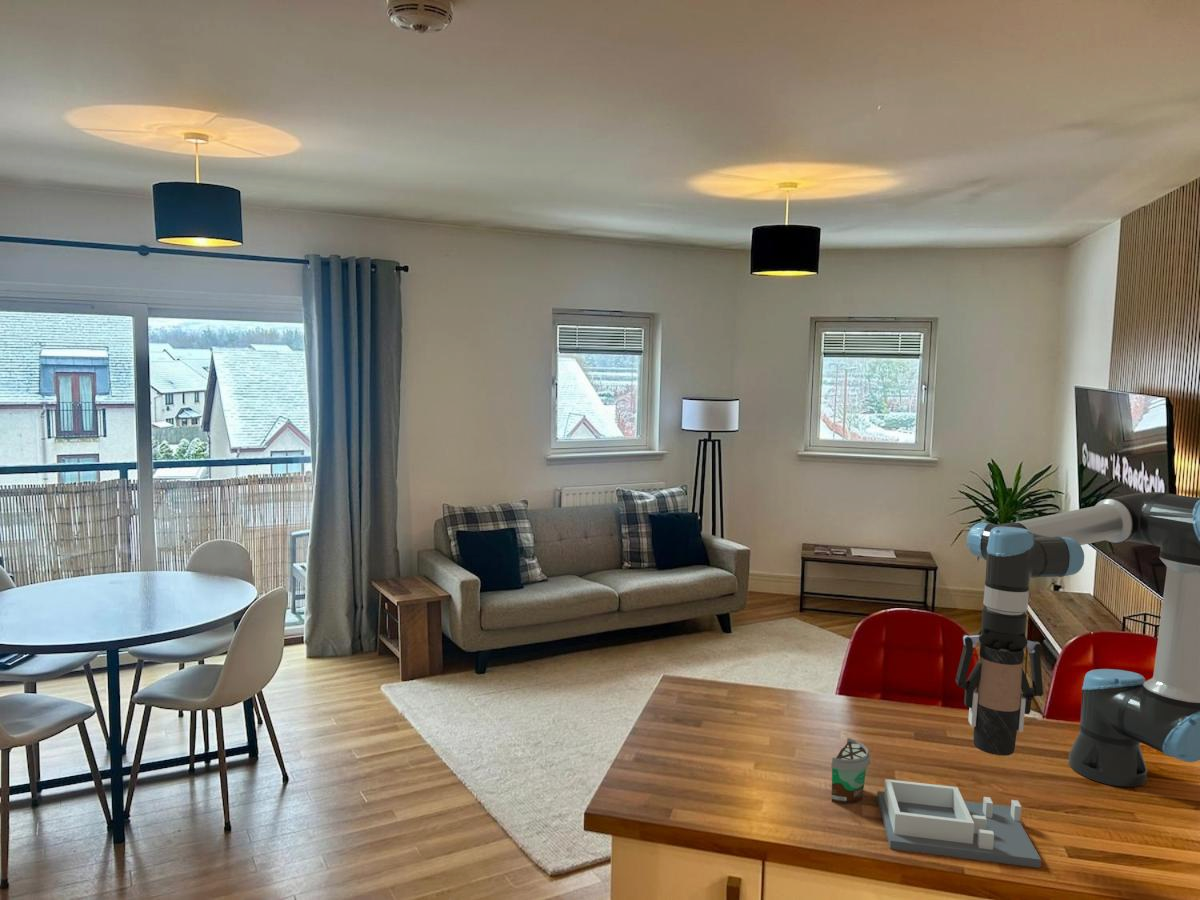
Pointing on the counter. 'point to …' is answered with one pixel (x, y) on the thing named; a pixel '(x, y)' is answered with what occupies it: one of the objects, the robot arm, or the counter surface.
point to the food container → (849, 773)
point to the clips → (980, 822)
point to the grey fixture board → (1007, 835)
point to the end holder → (928, 824)
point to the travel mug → (998, 700)
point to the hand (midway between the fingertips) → (995, 726)
